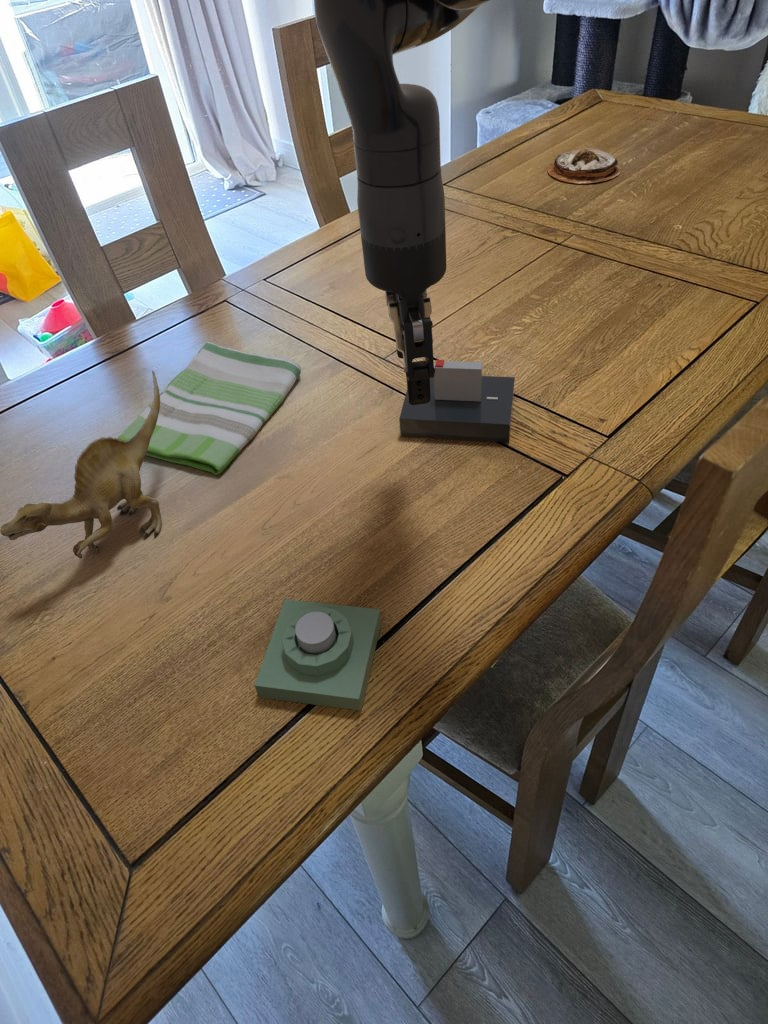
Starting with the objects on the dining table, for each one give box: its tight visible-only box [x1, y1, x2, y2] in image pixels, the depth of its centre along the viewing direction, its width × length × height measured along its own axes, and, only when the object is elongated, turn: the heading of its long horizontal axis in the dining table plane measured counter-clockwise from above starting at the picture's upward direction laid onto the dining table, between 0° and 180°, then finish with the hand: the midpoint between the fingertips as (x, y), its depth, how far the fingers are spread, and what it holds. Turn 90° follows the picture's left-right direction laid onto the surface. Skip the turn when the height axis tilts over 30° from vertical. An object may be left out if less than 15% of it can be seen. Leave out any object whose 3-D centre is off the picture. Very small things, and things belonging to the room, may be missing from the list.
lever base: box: [398, 375, 516, 444], centre depth 92 cm, size 14×10×3 cm
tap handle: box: [434, 359, 484, 402], centre depth 89 cm, size 6×2×5 cm, turn 80°
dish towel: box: [117, 341, 302, 476], centre depth 97 cm, size 17×23×4 cm
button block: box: [254, 598, 383, 712], centre depth 67 cm, size 10×10×4 cm
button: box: [295, 612, 336, 654], centre depth 65 cm, size 4×4×2 cm
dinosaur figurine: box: [0, 370, 163, 559], centre depth 79 cm, size 8×26×13 cm, turn 155°
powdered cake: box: [547, 147, 622, 184], centre depth 145 cm, size 15×15×4 cm
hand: (413, 378), depth 73 cm, fingers open, 8 cm apart
